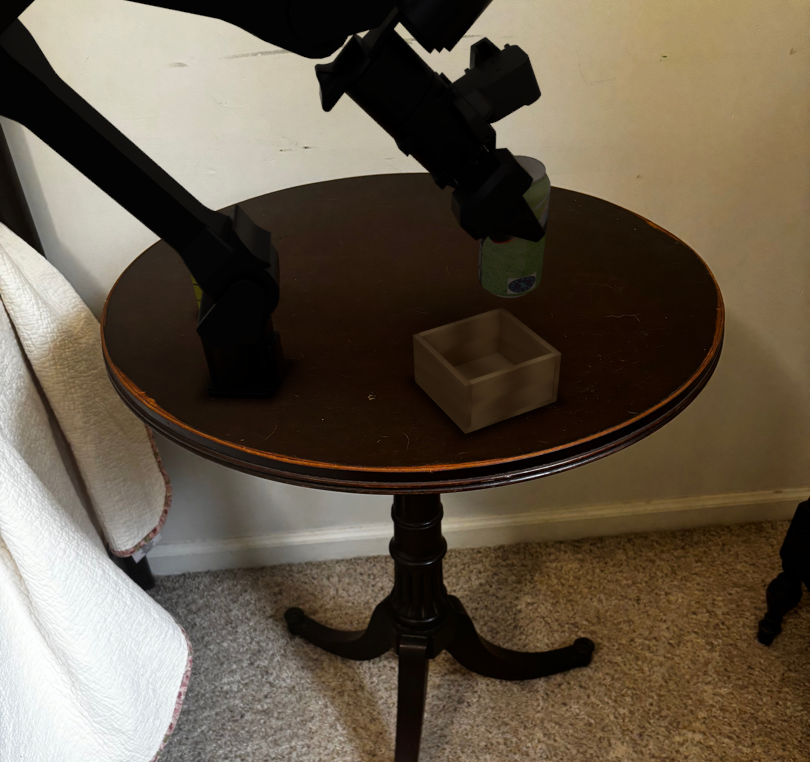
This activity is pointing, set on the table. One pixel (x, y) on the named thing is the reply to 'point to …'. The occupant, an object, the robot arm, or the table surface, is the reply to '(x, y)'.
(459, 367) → the holder
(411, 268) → the table surface
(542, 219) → the beverage can
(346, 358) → the table surface
